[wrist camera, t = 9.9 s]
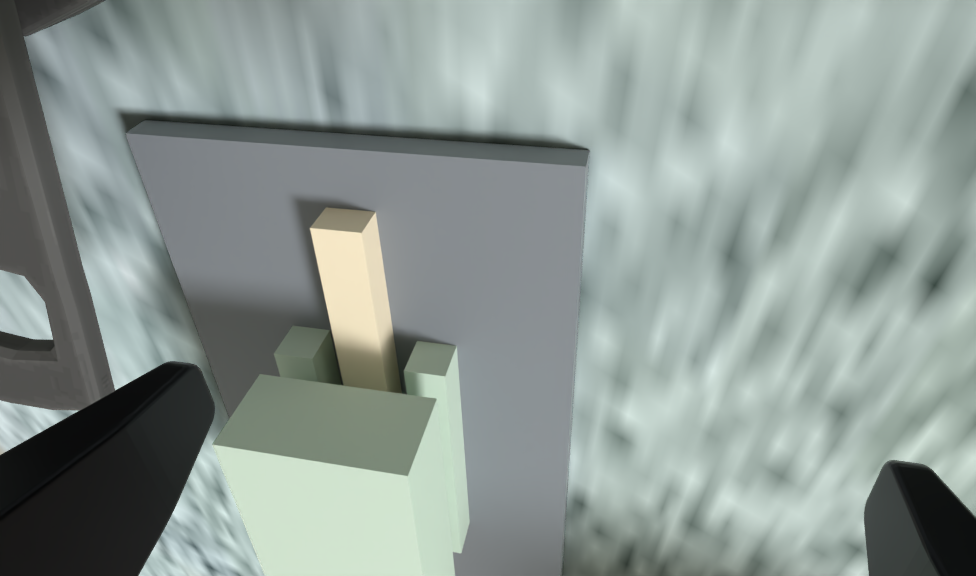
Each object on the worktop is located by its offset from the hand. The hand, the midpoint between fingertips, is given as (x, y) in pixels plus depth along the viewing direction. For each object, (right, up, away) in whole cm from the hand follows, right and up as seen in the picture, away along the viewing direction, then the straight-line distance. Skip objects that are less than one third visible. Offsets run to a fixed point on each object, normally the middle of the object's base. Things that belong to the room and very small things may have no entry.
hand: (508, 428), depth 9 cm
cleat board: (-4, -3, +19) cm, 19 cm away
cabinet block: (-4, -4, +18) cm, 19 cm away
